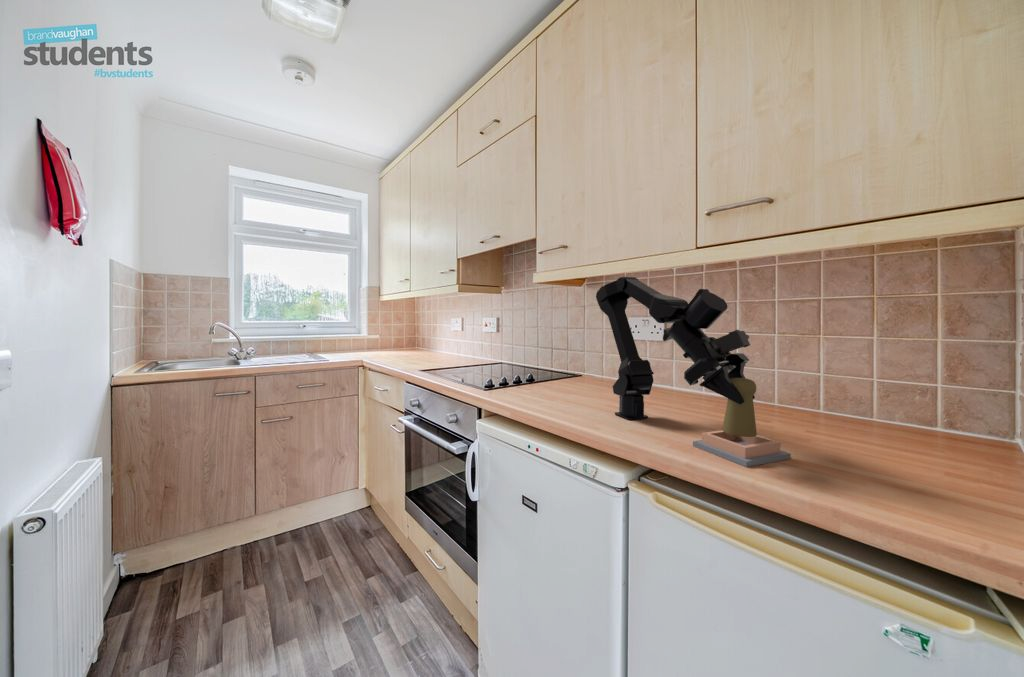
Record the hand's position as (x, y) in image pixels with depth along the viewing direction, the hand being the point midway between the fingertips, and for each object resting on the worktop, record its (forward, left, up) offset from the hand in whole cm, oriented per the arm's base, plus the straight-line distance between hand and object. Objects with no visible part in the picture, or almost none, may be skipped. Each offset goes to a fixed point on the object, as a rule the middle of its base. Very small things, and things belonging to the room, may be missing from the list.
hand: (747, 401), depth 73 cm
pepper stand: (-1, 0, -11) cm, 11 cm away
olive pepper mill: (-1, 0, -7) cm, 7 cm away
